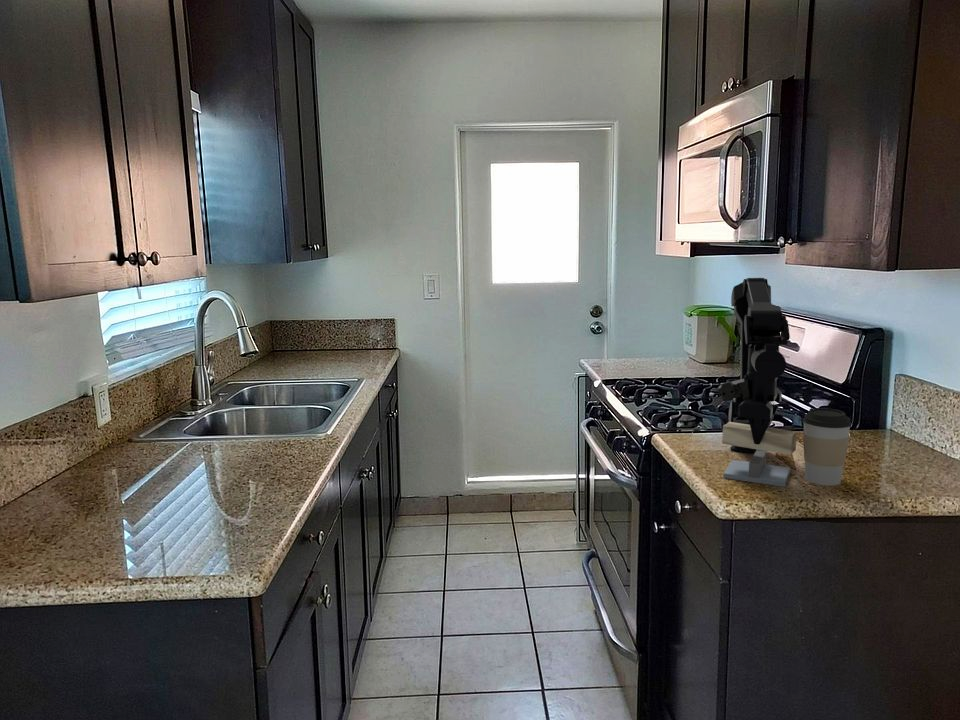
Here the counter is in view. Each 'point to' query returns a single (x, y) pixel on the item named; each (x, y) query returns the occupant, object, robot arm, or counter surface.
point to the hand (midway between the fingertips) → (758, 441)
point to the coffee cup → (825, 445)
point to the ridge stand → (757, 471)
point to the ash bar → (770, 442)
